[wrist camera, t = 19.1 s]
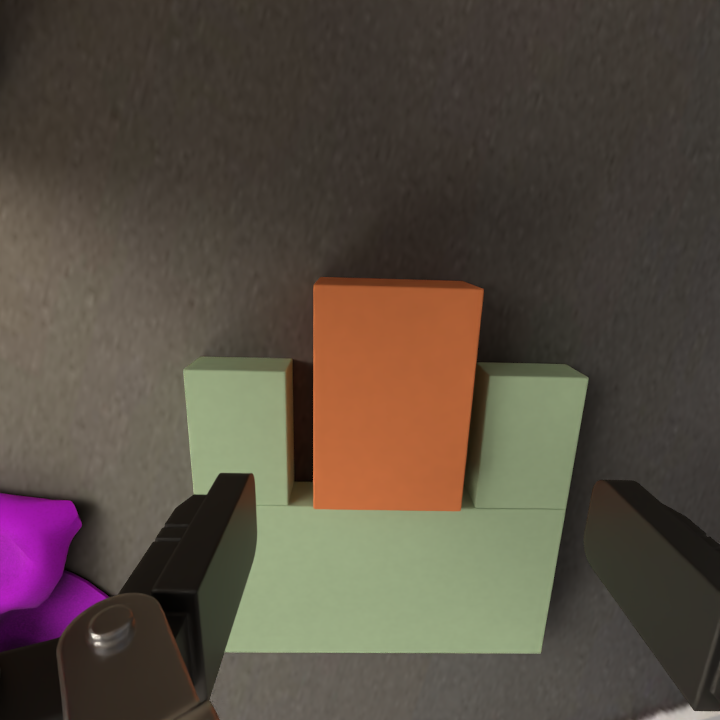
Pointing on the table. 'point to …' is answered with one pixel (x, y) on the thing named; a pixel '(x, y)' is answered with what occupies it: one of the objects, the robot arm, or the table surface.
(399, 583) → the pale green notched block
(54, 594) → the cloth
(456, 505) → the orange rectangular block
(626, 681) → the table surface
